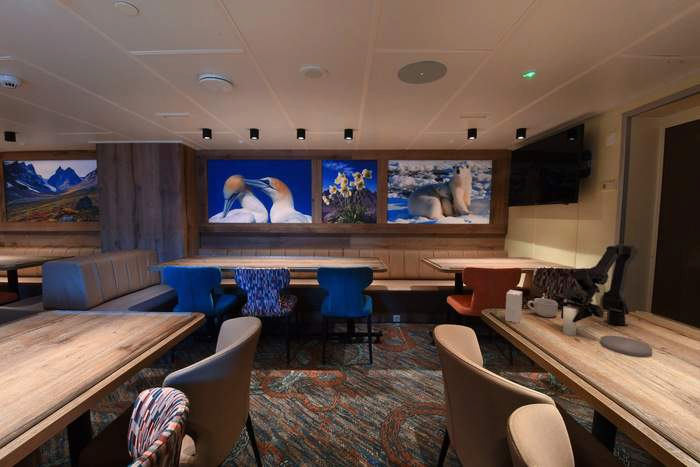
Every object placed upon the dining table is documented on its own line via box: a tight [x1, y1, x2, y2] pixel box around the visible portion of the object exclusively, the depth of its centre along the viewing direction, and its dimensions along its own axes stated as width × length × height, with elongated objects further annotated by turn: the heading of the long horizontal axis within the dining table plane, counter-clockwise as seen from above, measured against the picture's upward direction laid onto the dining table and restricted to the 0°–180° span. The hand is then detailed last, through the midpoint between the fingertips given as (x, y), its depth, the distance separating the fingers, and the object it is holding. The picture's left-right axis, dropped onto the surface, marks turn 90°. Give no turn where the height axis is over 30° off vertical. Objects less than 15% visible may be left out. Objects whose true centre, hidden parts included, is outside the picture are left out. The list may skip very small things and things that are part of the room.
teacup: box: [526, 297, 559, 318], centre depth 154 cm, size 14×11×8 cm
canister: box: [562, 306, 578, 337], centre depth 130 cm, size 5×5×12 cm
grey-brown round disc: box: [599, 335, 653, 358], centre depth 115 cm, size 15×15×2 cm
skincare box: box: [504, 289, 523, 324], centre depth 147 cm, size 8×6×15 cm
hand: (567, 319), depth 129 cm, fingers closed on canister, 5 cm apart
